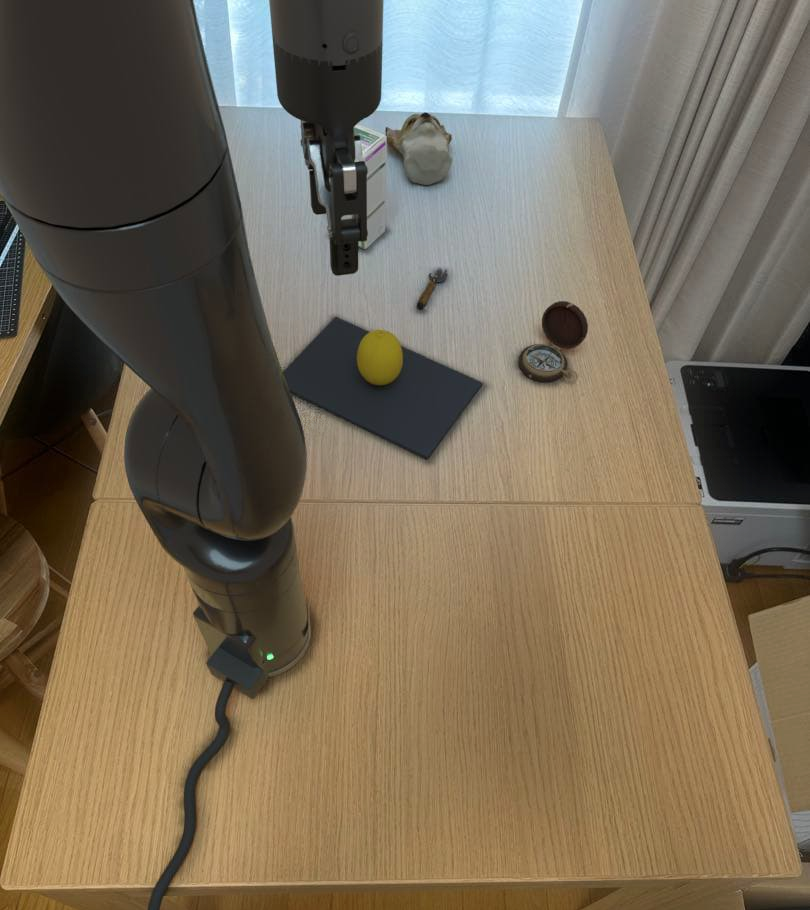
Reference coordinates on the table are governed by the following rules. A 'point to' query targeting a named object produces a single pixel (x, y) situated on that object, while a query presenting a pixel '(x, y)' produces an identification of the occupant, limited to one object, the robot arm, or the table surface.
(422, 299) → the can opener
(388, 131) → the ceramic sculpture
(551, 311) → the compass
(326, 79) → the robot arm
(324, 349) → the mat
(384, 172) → the syrup box
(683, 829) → the table surface
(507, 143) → the table surface
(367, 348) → the lemon
